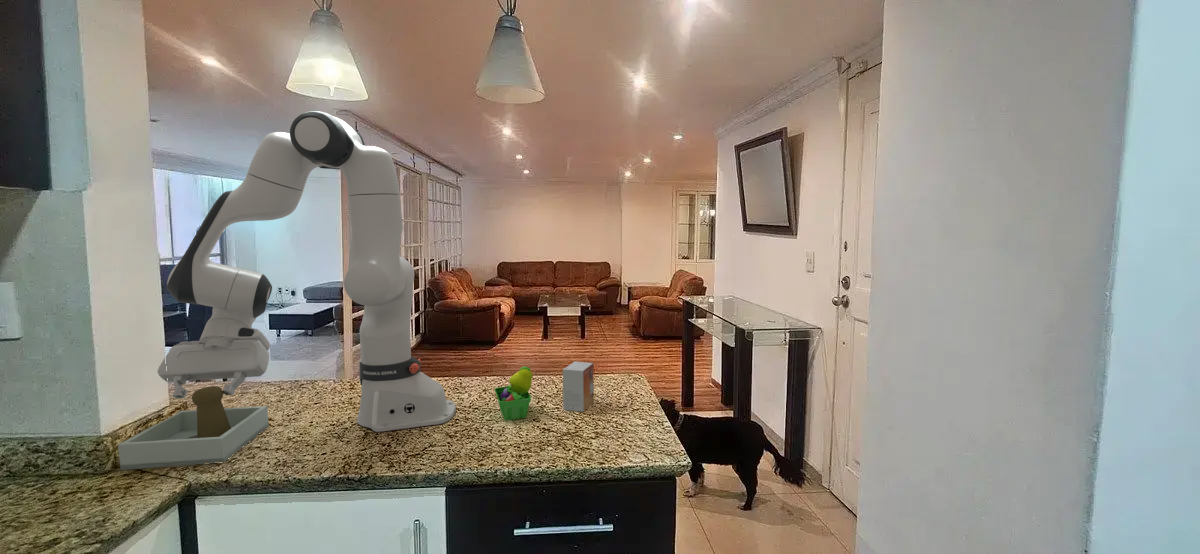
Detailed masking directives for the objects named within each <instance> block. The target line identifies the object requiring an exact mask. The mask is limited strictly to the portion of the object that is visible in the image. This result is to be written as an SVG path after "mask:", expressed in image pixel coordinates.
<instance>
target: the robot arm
mask: <svg viewBox="0 0 1200 554" xmlns="http://www.w3.org/2000/svg"><path fill="white" fill-rule="evenodd" d="M248 167H249V168H248V169H247V170H248V171H247V174H246V175H245V178H244V180H243V181H242V183H241V184H240V185H238V187H236V188H235V189H234V190H228V191H227V190H226V191H224V192H223V193H222V194H221V195H220V196H218V198H217V199H216V200H215V202H214V204H213V205H212V206H211V208H210V210H209V211H208V213H207V215H206V216H205V218H204V219H203V221H202V223H201V224H200V226H199V228H198V230H197V232H196V234H195V235H194V237H193V239H192V240H191V242H190V243H189V245H188V247H187V249H186V251H185V252H184V254H183V256H182V257H181V258H180V260H179V261H178V262H177V263H176V264H175V265H174V267H173V268H172V269H171V271H170V273H169V275H168V278H167V282H166V284H167V285H166V290H167V291H168V293H169V294H170V295H171V296H172V297H173V298H174V299H175V300H176V301H177V302H178V303H180V304H181V303H183V304H190V305H196V306H197V305H201V306H206V307H211V308H212V310H211V311H212V313H211V314H212V315H211V317H210V318H209V319H208V320H207V321H206V324H205V326H204V329H203V331H202V333H201V336H200V338H199V340H192V341H185V340H184V341H180V342H179V343H177V344H175V345H173V346H171V347H170V349H169V350H168V352H167V354H166V355H165V357H166V364H165V357H164V358H163V360H162V362H161V364H159V366H158V368H157V374H158V376H159V377H160V378H161V379H162V380H164V381H165V382H167V383H173V387H174V390H173V394H172V396H173V398H174V399H184V398H186V396H187V394H188V390H187V389H185V388H184V387H183V385H184V386H185V385H186V383H187V381H189V382H190V381H205V380H206V381H207V380H208V381H209V380H220V379H221V380H222V379H232V380H231V381H230V383H229V384H225V385H224V387H223V389H222V391H223V395H224V396H234V395H235V392H236V390H237V388H238V387H240V386H241V385H242V384H243V383H244V382H245V380H246V378H252V377H253V378H255V377H261V376H263V375H264V374H265V373H266V372H267V370H268V365H269V362H270V352H269V350H270V348H271V343H270V342H269V339H267V337H266V336H265V335H264V333H263V332H262V331H261V330H260V329H257V328H253V327H252V326H253V324H254V323H255V321H256V319H257V318H258V317H260V316H261V315H263V314H264V313H265V312H266V309H267V304H268V302H269V300H270V298H271V297H270V296H271V295H272V291H273V285H272V283H271V282H270V280H269V279H268V277H267V276H266V275H265V274H263V273H260V272H258V271H254V270H249V269H245V268H240V267H236V266H231V265H226V264H222V263H219V262H214V261H212V260H211V259H210V255H211V253H212V252H213V250H214V248H215V247H216V245H217V243H218V241H219V240H220V238H221V236H222V234H223V233H224V231H225V230H226V229H227V227H229V226H230V225H232V224H235V223H240V222H241V223H242V222H262V221H263V222H264V221H275V220H279V219H282V218H285V217H287V216H289V215H291V214H292V213H293V212H295V210H296V209H297V207H298V205H299V203H300V200H301V198H302V196H303V193H304V189H305V187H306V183H307V180H308V177H309V175H310V174H311V172H312V171H313V170H314V169H316V168H320V169H325V170H327V169H328V170H338V171H341V172H342V173H343V175H344V178H345V181H346V188H347V189H346V190H347V199H348V208H349V209H348V210H349V221H350V245H349V252H348V253H349V255H348V264H347V265H348V266H347V271H346V274H345V276H344V281H343V286H344V290H345V293H346V295H347V296H348V298H349V299H350V300H351V301H353V302H354V303H356V304H358V305H361V306H364V307H363V315H362V320H361V324H360V326H359V346H360V348H359V349H360V361H359V363H358V364H359V366H358V375H359V377H358V378H359V383H360V386H361V393H360V403H359V408H358V409H359V411H358V413H357V418H356V423H357V424H358V425H360V426H361V427H366V428H369V429H371V430H372V431H374V432H377V433H381V432H387V431H395V430H403V429H410V428H411V429H412V428H419V427H425V426H426V427H427V426H433V425H435V426H436V425H440V424H445V423H447V422H448V421H449V420H450V421H451V419H452V418H453V417H454V415H455V414H456V410H457V409H456V403H455V402H454V401H452V400H450V399H447V397H446V396H447V395H446V393H445V390H444V387H443V385H442V384H441V383H440V382H438V381H436V380H435V379H433V378H432V377H430V376H428V375H426V374H425V373H423V372H422V371H421V358H420V357H419V358H418V359H417V357H416V358H415V357H414V356H413V355H412V349H411V347H412V346H411V316H412V315H411V314H412V309H413V308H412V306H413V296H414V295H413V293H414V291H413V290H414V281H415V269H414V267H413V266H412V264H411V262H410V261H408V260H407V259H406V258H404V257H402V256H401V239H402V234H403V230H404V226H403V212H402V204H401V192H400V185H399V179H398V175H397V170H396V166H395V163H394V160H393V157H392V155H391V154H390V153H389V152H388V151H387V150H385V149H384V148H381V147H379V146H375V145H373V146H372V145H366V144H365V141H364V138H363V137H362V135H361V134H360V133H359V131H357V129H355V128H354V127H352V126H351V125H349V124H348V123H347V122H346V121H344V120H343V119H341V118H338V117H336V116H333V115H332V114H329V113H327V112H325V111H319V110H311V111H306V112H304V113H301V114H299V115H298V116H297V117H296V118H294V120H293V121H292V123H291V125H290V129H289V132H283V131H276V132H275V131H274V132H270V133H268V134H267V135H265V136H264V137H263V139H262V140H261V142H260V144H259V145H258V148H257V149H256V151H255V154H254V156H253V157H252V160H251V162H250V164H249V166H248ZM166 366H167V371H166ZM167 378H168V381H167Z"/></svg>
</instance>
